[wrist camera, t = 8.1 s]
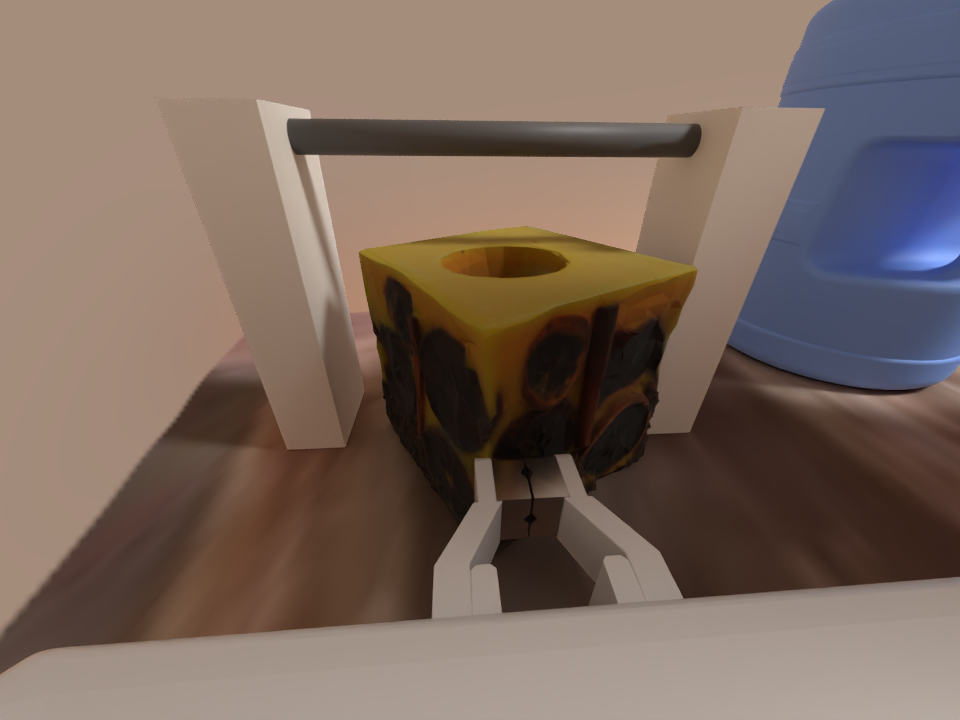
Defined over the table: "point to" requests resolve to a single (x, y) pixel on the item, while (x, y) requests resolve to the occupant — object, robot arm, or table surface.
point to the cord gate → (299, 140)
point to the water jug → (868, 204)
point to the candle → (520, 350)
